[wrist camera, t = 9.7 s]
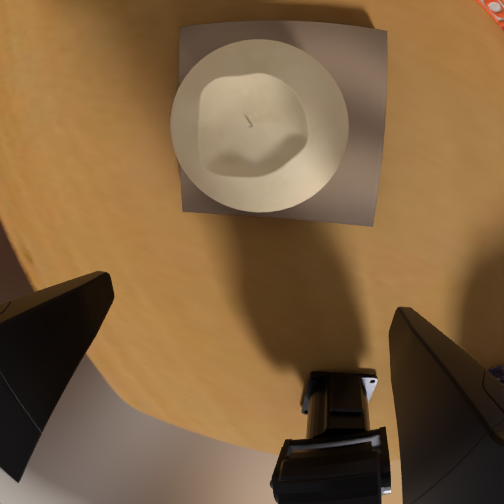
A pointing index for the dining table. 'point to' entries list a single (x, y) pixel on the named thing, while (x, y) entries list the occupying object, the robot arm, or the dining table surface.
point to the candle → (259, 125)
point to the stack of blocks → (494, 10)
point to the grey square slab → (354, 93)
